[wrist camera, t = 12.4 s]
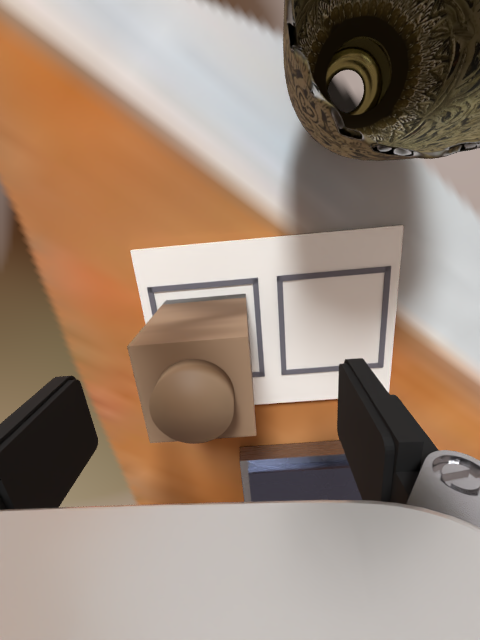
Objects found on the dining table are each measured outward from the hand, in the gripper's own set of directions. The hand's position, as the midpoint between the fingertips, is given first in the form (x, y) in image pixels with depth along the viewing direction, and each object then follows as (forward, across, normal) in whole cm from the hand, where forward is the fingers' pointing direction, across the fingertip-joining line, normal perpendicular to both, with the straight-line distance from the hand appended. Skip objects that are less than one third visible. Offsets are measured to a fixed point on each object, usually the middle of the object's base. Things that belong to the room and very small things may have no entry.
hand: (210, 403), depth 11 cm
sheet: (+7, -2, 0) cm, 8 cm away
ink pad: (+7, -4, +12) cm, 15 cm away
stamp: (+7, +1, 0) cm, 7 cm away
